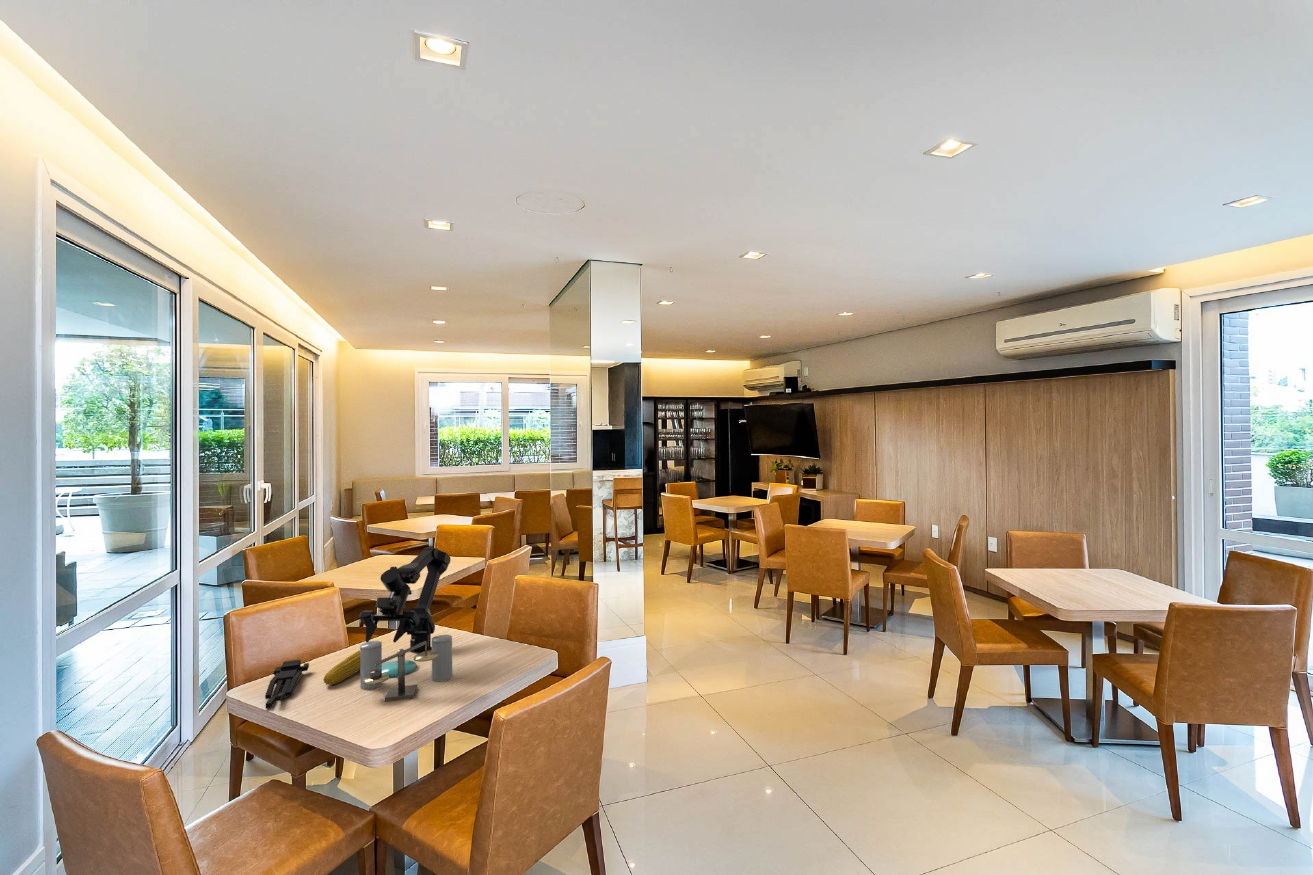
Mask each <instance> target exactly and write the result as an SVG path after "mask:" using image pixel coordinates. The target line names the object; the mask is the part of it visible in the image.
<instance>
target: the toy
mask: <svg viewBox="0 0 1313 875" xmlns="http://www.w3.org/2000/svg"><path fill="white" fill-rule="evenodd" d="M301 660H302V659H294V660H287V661H283V662H282V664H281V666H277V667H275V668H274V670H273V677H272V678H271V680H269V684H268V686H267V689H266V692H265V696H264V698H265V699H264V700H267V701H266V703H265V709H271V708H272V707H273V705H275V703H276V702H280V701H282V700H283V699H285V698H286V697H291V696H292V694H293V693H294V690H295V688H296V686H297V683H298V681H299V680H300V678H301V676H302V674H303V672H307V671H308V669H309V667H310V663H309V662H307V663H305V662H304V664H303V665H302V663H301V662H302V661H301ZM301 665H302V666H301ZM274 702H275V703H274Z"/></svg>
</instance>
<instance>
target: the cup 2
mask: <svg viewBox="0 0 1313 875" xmlns="http://www.w3.org/2000/svg"><path fill="white" fill-rule="evenodd" d="M431 647H432V649H431V652H437V653H438V657H437V658H436V659H433V660H431V680H432V681H433V682H437V683H438V682H446V681H448V680H449V681H450V680H451V679H452V678H453V636H452V635H450V634H441V635H440V634H439V635H435V636H434V637H432V638H431Z"/></svg>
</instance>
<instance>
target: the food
mask: <svg viewBox="0 0 1313 875" xmlns="http://www.w3.org/2000/svg"><path fill="white" fill-rule="evenodd" d="M358 671H360V650H358V651H355V652H354V653H352V654H351V655H349V656H348V657H347V658H345V659H344V660H342V661H340V662H339V663H337V664H336V665H334V666H333V667H332V668H331V669H330V670H328V671H327V672H326V673H325V675H324V676H323V679H322V680H323V682H324V684H325V685H328V686H331V685H335V684H338V683H340V682H342V681H344V680H345V679H348V678H349V677H352V676H353V675H354V674H355V673H357V672H358Z"/></svg>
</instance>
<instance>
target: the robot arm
mask: <svg viewBox="0 0 1313 875" xmlns="http://www.w3.org/2000/svg"><path fill="white" fill-rule="evenodd" d="M451 561H452V559H451V556H450V555H449V554H448V552H445V551H442V550H440V549H439V548H436V547H425V548H423V549H422V550H421V552H420V553H419V554H418V555H417V556H416V557H414V559H413V560H411V562H409V563H407V564H403V565H401V566H400V567H397V566H390V567H389V569H387V570H385V571H384V572H382V573H381V575H380V581H381V583H382V584H383V586H384V587H385V589H386V590H387V591H388V592H389V596H388V597H377V598H376V603H375V608H376V609H377V608H378V609H379V610H378V611H379V612H380V613H381V614H376V612H375V611H374V610H363V611H361V612H360V614H359V616H358V619H359V620H360V621H361V623H362V624H363V625H364V627H365V643H366V642H370V641H371V639H372V636H373V635H374V633H375V632H376V630H377V625H378V623H379V622H399V624H398V627H397V629H396V632H395V634H394V636H393V643H394V644H395V643H396V642H398V640H400V638H402V637H403V636H404V635H405V634H406V635H407V636H409V635H410V639H409V648H410V647H412V646H415V645H417V644H419V643H422V642H424V641H426V642H427V652H429V651H430V650H432V638H431V637H432V636H431V635H433V634H434V633H435V630H436V625H435V623H434V622H433V620H432V614H431V606H432V605H433V604H432V603H433V600H434V597H435V594H436V590H437V587H438V584H439V581H440V577H441V575H442V576H443V574H444V573H445V572H446V571H447V570H448V567H449V565H450V563H451ZM425 568H427V574H426V577H425V580H424V583H423V585H422V589H421V591H420V595H419V598H418V601H417V604H416V606H415V607H410V608H409V609H408V610H406V605H405V604H406V603H407V600H408V596H409V595H410V596H411V595H412V594H413V592H412V589H411V587H410V585H411V584H412V585H414V584H416V583H417V582H418V581H419V579H421V572H422V571H423V570H424V569H425ZM410 652H411V653H416V654H419V653H423V652H425V645H423V646H421V647H418V648H416V649H414V650H412V651H410Z"/></svg>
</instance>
